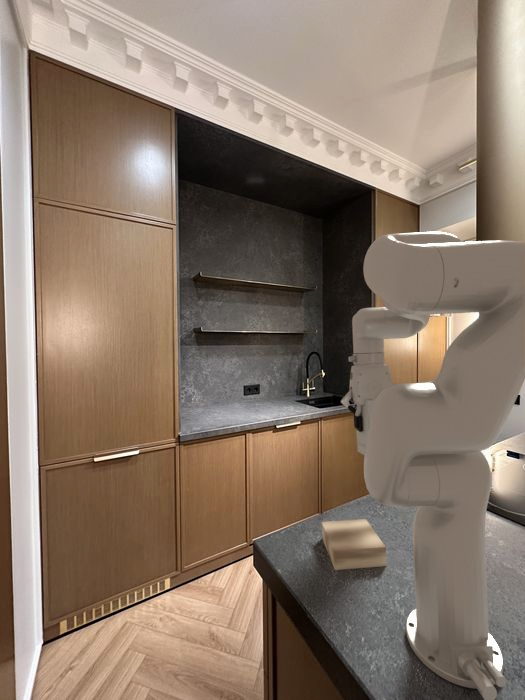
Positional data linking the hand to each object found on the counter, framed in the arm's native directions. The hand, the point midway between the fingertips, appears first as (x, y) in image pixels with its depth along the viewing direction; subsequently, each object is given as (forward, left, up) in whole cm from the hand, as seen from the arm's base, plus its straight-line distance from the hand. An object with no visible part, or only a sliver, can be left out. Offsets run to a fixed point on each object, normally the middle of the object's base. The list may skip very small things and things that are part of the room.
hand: (372, 429), depth 81 cm
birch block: (-9, +9, -25) cm, 28 cm away
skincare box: (0, 0, -7) cm, 7 cm away
